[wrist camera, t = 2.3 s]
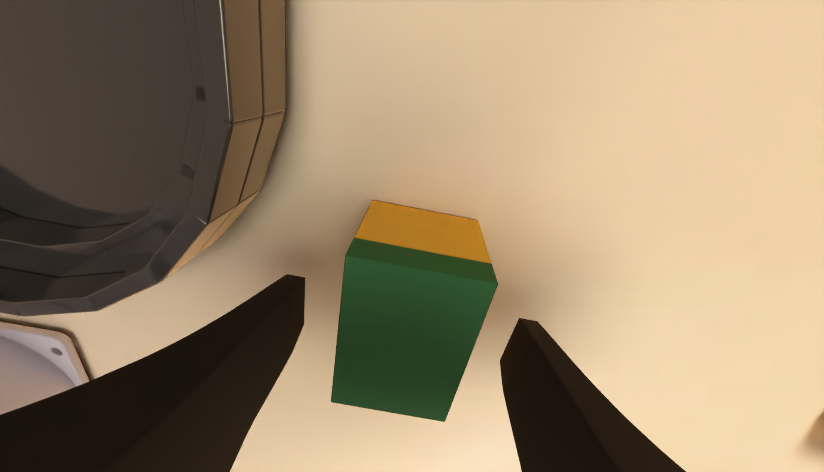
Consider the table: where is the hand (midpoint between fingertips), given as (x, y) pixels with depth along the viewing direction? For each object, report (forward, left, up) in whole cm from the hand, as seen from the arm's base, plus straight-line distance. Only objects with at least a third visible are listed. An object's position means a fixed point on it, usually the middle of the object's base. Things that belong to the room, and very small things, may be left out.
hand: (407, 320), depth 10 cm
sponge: (0, 0, -3) cm, 3 cm away
